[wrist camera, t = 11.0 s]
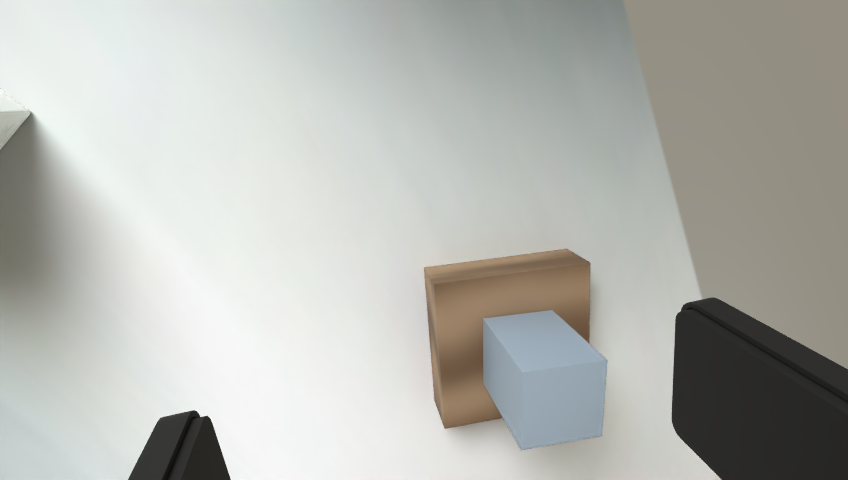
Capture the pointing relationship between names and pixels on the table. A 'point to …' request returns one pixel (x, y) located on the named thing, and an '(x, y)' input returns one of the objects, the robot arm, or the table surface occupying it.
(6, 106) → the small box
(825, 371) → the robot arm
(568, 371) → the slate block
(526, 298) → the walnut block
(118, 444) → the table surface
